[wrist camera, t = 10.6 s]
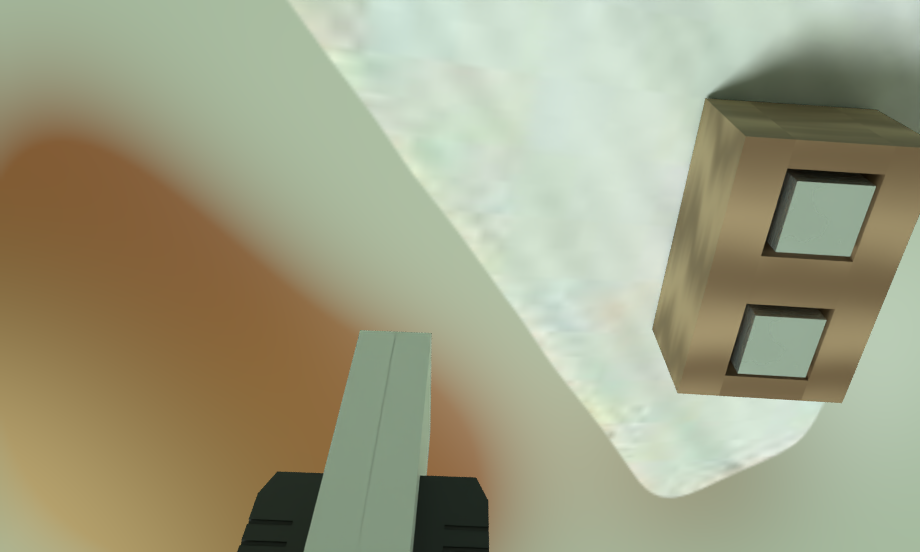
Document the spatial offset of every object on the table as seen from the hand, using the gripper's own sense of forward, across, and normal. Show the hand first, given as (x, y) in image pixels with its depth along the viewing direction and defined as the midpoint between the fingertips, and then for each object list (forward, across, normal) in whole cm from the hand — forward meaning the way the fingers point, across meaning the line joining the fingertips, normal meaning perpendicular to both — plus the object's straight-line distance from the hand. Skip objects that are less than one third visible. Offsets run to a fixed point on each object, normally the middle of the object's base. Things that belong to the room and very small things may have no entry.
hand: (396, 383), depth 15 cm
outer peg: (+28, +20, -13) cm, 37 cm away
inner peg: (+28, +20, -5) cm, 35 cm away
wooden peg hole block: (+29, +20, -10) cm, 36 cm away
